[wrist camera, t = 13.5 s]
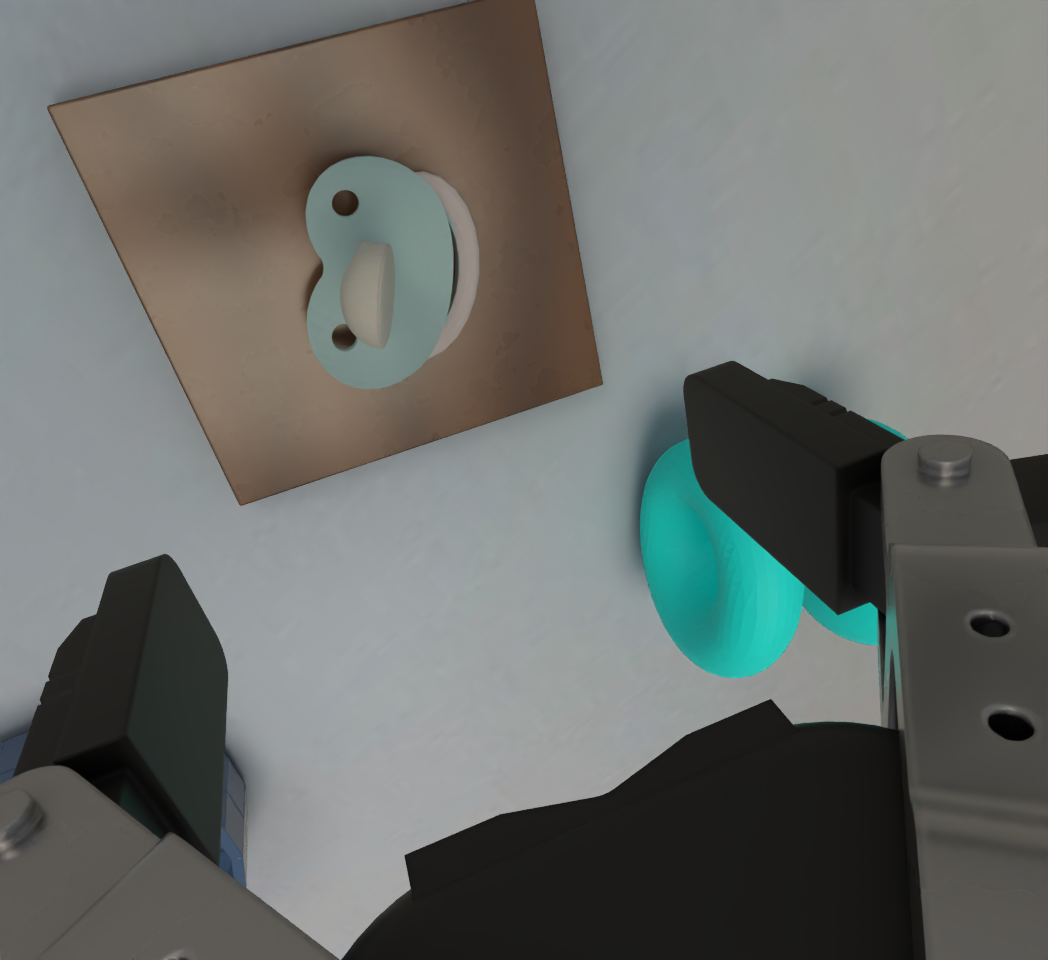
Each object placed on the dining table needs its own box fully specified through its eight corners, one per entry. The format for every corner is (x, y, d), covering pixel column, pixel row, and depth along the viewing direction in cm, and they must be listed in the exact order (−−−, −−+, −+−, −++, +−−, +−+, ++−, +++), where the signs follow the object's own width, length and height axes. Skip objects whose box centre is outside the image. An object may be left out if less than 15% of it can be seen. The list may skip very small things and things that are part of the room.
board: (240, 492, 30) (239, 507, 29) (55, 105, 23) (45, 106, 22) (592, 375, 32) (603, 384, 31) (521, -10, 25) (532, -15, 24)
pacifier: (482, 162, 26) (300, 145, 24) (545, 182, 21) (319, 161, 19) (466, 367, 29) (304, 367, 27) (517, 430, 24) (321, 435, 22)
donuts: (798, 560, 41) (939, 685, 32) (623, 593, 38) (727, 738, 30) (831, 382, 36) (1007, 473, 28) (636, 405, 34) (763, 513, 25)
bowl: (37, 941, 37) (11, 1040, 33) (-124, 779, 31) (-179, 877, 27) (285, 840, 39) (287, 923, 35) (180, 668, 33) (168, 746, 29)
